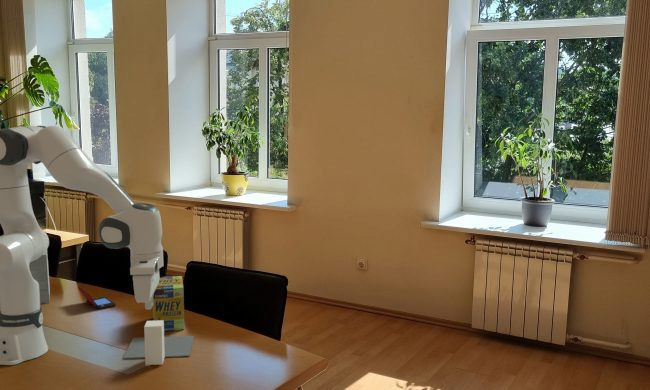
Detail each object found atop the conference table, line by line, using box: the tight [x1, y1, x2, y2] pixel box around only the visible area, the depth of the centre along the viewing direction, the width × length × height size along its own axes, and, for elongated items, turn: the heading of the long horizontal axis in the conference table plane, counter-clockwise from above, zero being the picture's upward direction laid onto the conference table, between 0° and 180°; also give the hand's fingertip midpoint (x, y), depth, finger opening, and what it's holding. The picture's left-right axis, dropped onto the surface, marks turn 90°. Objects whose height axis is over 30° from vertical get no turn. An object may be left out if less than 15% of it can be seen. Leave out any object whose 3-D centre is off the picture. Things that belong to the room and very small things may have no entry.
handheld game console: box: [77, 286, 117, 311], centre depth 232 cm, size 12×11×7 cm
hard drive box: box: [29, 249, 51, 305], centre depth 238 cm, size 16×8×20 cm, turn 25°
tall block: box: [143, 320, 166, 367], centre depth 181 cm, size 5×5×12 cm
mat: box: [123, 335, 195, 360], centre depth 193 cm, size 20×16×1 cm
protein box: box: [152, 275, 185, 332], centre depth 213 cm, size 10×15×16 cm
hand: (149, 307), depth 170 cm, fingers closed
